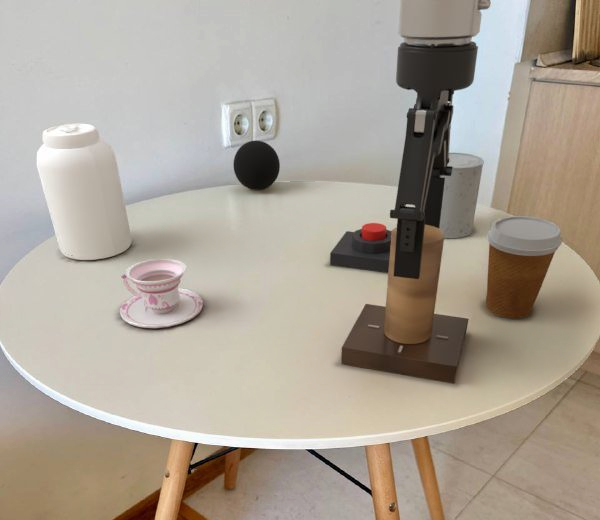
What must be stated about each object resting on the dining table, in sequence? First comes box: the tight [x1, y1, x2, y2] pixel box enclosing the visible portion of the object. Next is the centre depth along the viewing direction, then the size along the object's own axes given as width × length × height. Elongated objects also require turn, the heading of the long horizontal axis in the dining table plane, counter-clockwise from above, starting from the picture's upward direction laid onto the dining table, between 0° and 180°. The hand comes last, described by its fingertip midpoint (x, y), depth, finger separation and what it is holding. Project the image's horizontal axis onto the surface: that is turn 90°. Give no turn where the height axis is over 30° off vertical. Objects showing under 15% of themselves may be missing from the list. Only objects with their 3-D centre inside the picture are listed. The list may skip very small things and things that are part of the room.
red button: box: [361, 222, 387, 241], centre depth 97 cm, size 4×4×2 cm
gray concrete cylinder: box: [439, 152, 485, 239], centre depth 106 cm, size 10×10×12 cm
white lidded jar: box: [36, 123, 133, 261], centre depth 100 cm, size 12×12×20 cm
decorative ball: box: [232, 140, 281, 191], centre depth 128 cm, size 10×10×10 cm
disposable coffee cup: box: [485, 215, 563, 320], centre depth 81 cm, size 10×10×12 cm
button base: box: [329, 228, 392, 274], centre depth 99 cm, size 12×10×4 cm
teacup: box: [119, 258, 204, 329], centre depth 85 cm, size 12×12×6 cm
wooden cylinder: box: [384, 225, 445, 344], centre depth 71 cm, size 6×6×13 cm
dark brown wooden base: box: [340, 303, 470, 384], centre depth 76 cm, size 14×12×3 cm
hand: (417, 252), depth 69 cm, fingers open, 13 cm apart
